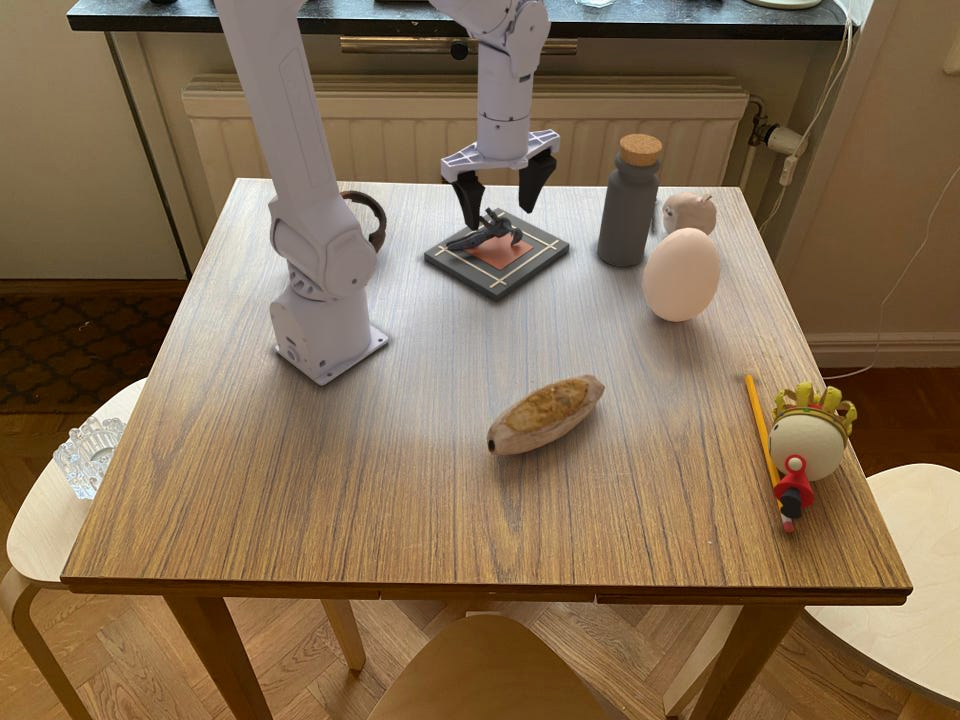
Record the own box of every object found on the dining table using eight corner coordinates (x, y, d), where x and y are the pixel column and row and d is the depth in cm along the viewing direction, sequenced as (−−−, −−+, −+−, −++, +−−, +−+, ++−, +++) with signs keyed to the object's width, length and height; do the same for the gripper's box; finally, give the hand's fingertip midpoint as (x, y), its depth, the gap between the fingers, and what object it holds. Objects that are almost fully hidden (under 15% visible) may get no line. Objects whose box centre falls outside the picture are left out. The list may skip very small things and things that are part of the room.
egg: (701, 345, 78) (730, 262, 70) (629, 329, 79) (649, 245, 71) (709, 301, 83) (736, 219, 75) (641, 286, 85) (660, 204, 77)
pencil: (783, 532, 61) (785, 527, 60) (743, 379, 74) (745, 374, 73) (792, 532, 61) (795, 528, 60) (751, 379, 74) (753, 375, 73)
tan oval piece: (616, 412, 70) (623, 382, 67) (503, 480, 64) (505, 450, 61) (581, 381, 73) (586, 351, 70) (470, 443, 67) (470, 412, 64)
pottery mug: (349, 218, 94) (372, 178, 88) (381, 277, 92) (407, 240, 86) (266, 231, 87) (285, 187, 81) (299, 294, 85) (321, 255, 79)
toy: (747, 523, 63) (778, 406, 72) (837, 544, 60) (857, 418, 69) (748, 472, 59) (780, 354, 68) (844, 491, 55) (865, 364, 64)
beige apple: (658, 246, 90) (671, 192, 85) (657, 219, 95) (670, 165, 89) (710, 252, 90) (727, 197, 84) (707, 224, 94) (723, 170, 88)
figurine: (446, 238, 80) (460, 279, 82) (524, 209, 81) (537, 251, 83) (433, 219, 91) (446, 256, 93) (502, 193, 92) (513, 231, 94)
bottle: (652, 261, 88) (678, 151, 78) (610, 271, 87) (631, 160, 76) (628, 235, 92) (650, 127, 82) (588, 244, 91) (605, 135, 80)
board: (496, 302, 82) (497, 294, 81) (423, 259, 88) (423, 251, 87) (569, 250, 90) (570, 243, 89) (497, 213, 95) (498, 206, 94)
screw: (654, 202, 98) (648, 199, 98) (658, 197, 98) (652, 193, 97) (654, 235, 93) (647, 232, 93) (658, 230, 92) (652, 226, 92)
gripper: (463, 140, 70) (462, 252, 80) (581, 109, 76) (567, 217, 85) (430, 112, 74) (433, 221, 84) (544, 84, 80) (535, 190, 89)
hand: (499, 217), depth 85 cm, fingers open, 7 cm apart
